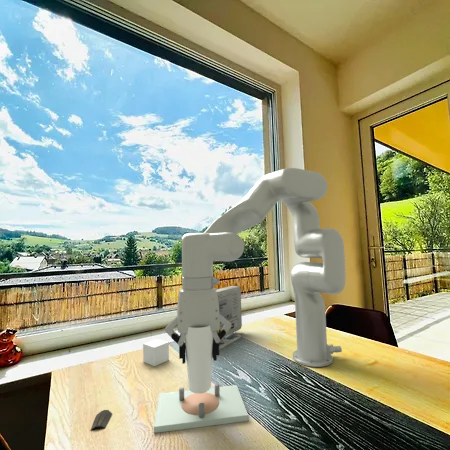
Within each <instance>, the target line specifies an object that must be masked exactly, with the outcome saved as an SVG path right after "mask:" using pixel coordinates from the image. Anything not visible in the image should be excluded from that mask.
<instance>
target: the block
mask: <svg viewBox="0 0 450 450" xmlns="http://www.w3.org/2000/svg"><path fill="white" fill-rule="evenodd" d="M112 416H113V412H112V411H110V410H109V409H103V410H100V412H98V413H97V414H96V415H95V417H94V420H93V422H92V425H91V427H90V431H97V430H104V429H106V427H107V425H108V424H109V422H110V419H111V418H112Z"/></svg>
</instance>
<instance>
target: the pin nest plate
mask: <svg viewBox="0 0 450 450" xmlns="http://www.w3.org/2000/svg"><path fill="white" fill-rule="evenodd" d="M155 412H156V413H155V416H154V417H155V418H154V424H153V434H155V433H163V432H165V433H166V432H171V431H179V430H180V431H181V430H188V429H195V428H202V427H210V426H218V425H226V424H232V423H233V424H234V423H240V422H249V414H248V411H247V408H246V406H245V403H244V401H243V398H242V396H241V393H240V390H239V387H238V385H237V384H233V385H225V386H220V384H219V383H215V384H214V387H211V388H210V389H209V390H208V391H207V392H205V393H200V394H197V393H193V392H191V391H190V390H189V389H185V388H184V387H179V389H178V391H170V392H159V393H158V398H157V405H156V411H155Z"/></svg>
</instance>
